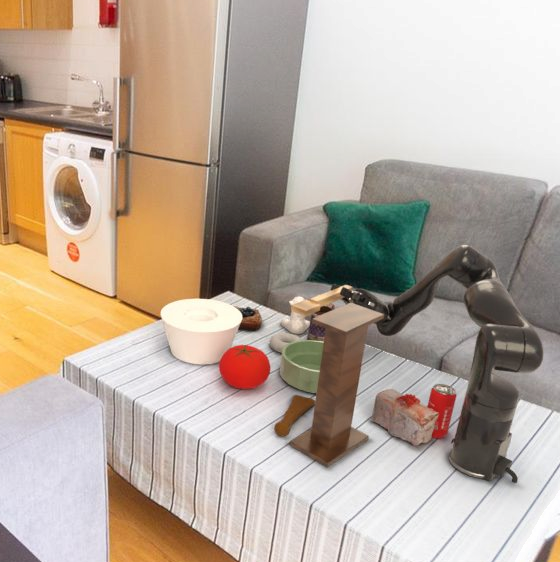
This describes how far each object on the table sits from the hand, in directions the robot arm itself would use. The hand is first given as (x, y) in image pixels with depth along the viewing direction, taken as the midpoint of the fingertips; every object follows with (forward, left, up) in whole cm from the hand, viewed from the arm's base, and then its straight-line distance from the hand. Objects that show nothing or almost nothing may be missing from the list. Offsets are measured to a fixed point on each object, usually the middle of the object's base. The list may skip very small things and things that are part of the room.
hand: (337, 289), depth 156 cm
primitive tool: (-8, +25, -25) cm, 37 cm away
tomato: (+10, +23, -25) cm, 36 cm away
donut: (+16, -3, -25) cm, 30 cm away
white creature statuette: (+22, -16, -25) cm, 37 cm away
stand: (-20, +27, -25) cm, 42 cm away
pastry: (+36, -6, -25) cm, 44 cm away
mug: (+12, -15, -25) cm, 32 cm away
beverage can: (-33, +4, -25) cm, 42 cm away
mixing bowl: (0, +5, -25) cm, 26 cm away
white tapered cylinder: (+31, +19, -25) cm, 44 cm away
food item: (-28, +10, -25) cm, 39 cm away
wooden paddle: (0, +5, -3) cm, 6 cm away
